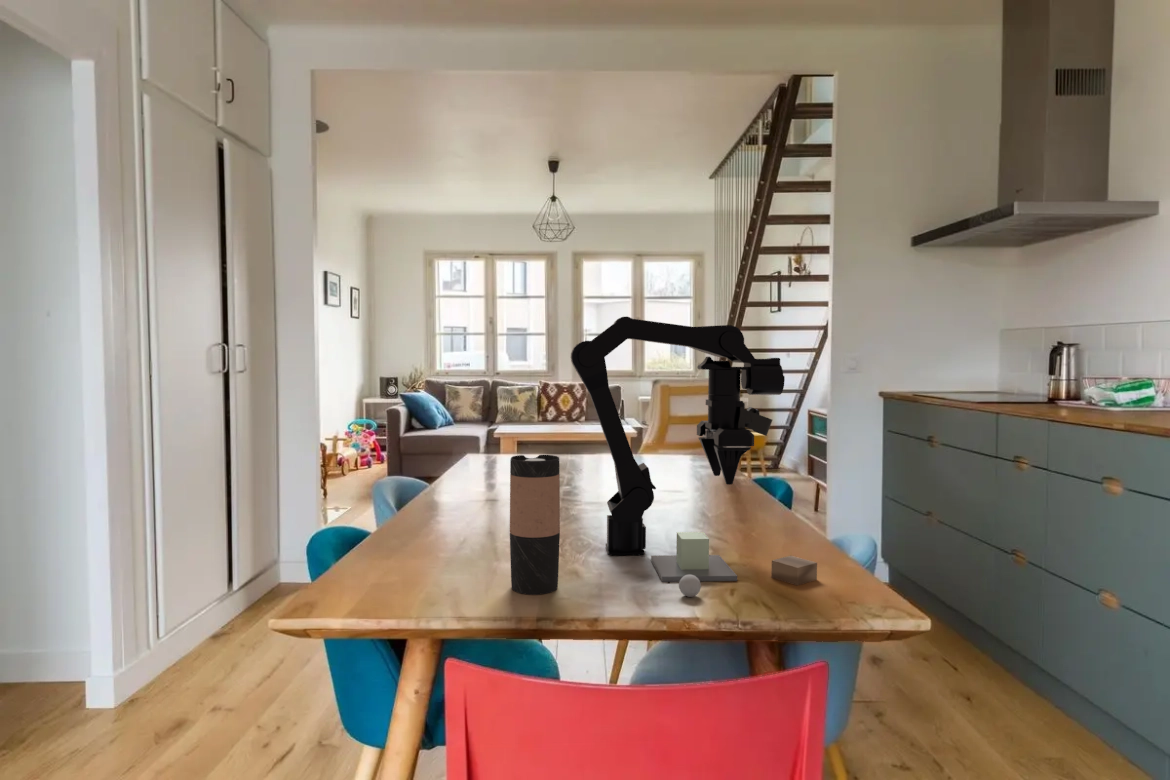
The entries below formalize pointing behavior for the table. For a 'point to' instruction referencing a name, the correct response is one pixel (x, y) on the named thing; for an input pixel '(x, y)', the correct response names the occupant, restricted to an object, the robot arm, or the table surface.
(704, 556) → the sage block
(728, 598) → the table surface
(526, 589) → the travel mug
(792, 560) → the walnut block
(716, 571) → the plate
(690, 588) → the grey ball
